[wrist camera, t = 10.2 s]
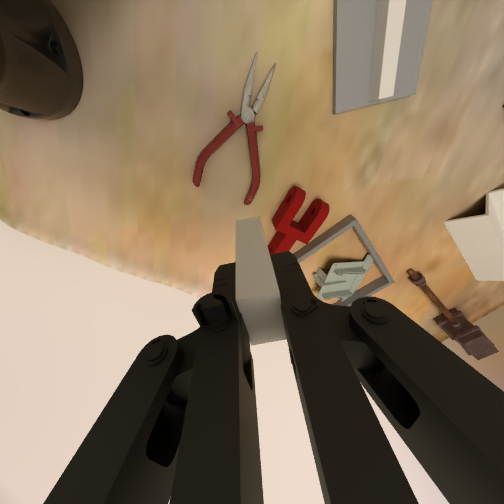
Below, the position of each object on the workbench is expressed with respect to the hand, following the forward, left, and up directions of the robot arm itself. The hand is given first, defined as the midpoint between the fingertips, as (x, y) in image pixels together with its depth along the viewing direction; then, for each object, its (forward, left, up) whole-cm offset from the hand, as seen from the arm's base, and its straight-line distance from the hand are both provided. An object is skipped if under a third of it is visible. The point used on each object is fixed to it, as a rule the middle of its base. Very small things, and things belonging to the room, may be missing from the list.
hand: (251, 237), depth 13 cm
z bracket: (+48, +33, -26) cm, 64 cm away
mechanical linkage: (+14, -1, -26) cm, 30 cm away
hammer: (+60, +17, -26) cm, 68 cm away
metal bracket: (+34, +1, -27) cm, 43 cm away
